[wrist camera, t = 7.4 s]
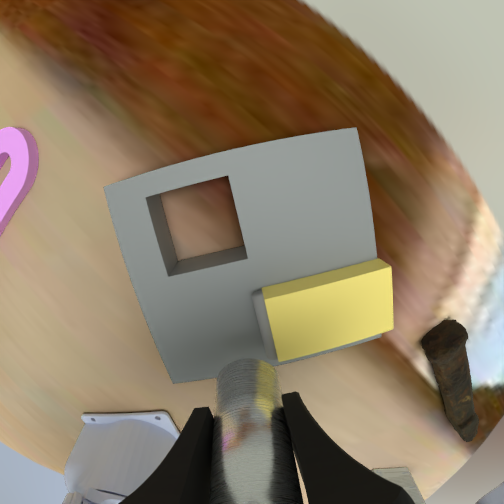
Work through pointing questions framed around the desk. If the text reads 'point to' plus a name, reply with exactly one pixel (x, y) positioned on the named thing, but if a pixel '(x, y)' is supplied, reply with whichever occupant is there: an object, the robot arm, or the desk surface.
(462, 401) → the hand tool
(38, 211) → the desk surface
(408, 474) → the light bulb box
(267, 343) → the latch flap
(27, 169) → the bracket
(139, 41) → the desk surface
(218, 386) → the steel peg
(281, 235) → the plate
